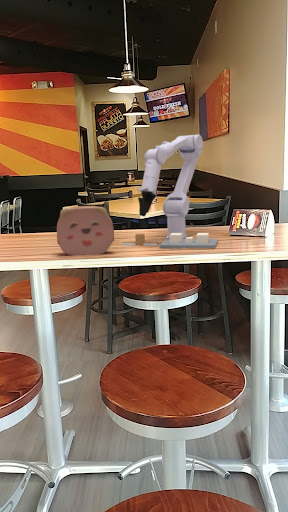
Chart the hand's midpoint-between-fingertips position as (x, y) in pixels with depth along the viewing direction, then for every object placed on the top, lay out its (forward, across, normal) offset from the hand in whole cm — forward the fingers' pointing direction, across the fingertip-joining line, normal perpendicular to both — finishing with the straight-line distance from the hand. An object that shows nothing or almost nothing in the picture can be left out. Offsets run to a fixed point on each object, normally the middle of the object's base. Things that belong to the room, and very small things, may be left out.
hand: (143, 214), depth 165 cm
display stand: (+8, +2, +19) cm, 21 cm away
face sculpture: (+20, +5, -17) cm, 27 cm away
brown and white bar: (+11, -6, +2) cm, 12 cm away
